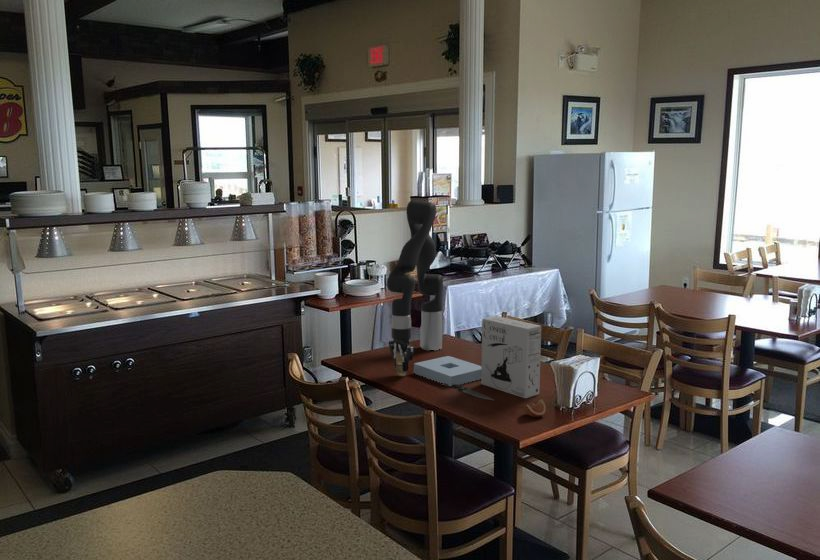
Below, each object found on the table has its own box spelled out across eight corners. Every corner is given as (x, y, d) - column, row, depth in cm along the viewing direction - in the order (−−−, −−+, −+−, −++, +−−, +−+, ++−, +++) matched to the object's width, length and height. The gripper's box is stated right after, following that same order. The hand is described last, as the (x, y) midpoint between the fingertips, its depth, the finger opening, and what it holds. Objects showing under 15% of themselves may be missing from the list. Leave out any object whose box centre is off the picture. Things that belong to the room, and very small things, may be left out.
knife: (488, 404, 237) (498, 401, 240) (488, 401, 237) (498, 398, 240) (439, 385, 258) (449, 382, 261) (439, 382, 258) (449, 380, 261)
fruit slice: (532, 422, 220) (533, 406, 219) (516, 416, 225) (517, 401, 224) (549, 416, 225) (550, 401, 224) (533, 410, 230) (534, 396, 229)
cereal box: (480, 384, 258) (481, 318, 254) (494, 380, 263) (496, 315, 259) (525, 399, 241) (527, 328, 238) (539, 394, 246) (541, 325, 242)
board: (413, 373, 272) (413, 363, 271) (448, 365, 283) (448, 355, 282) (451, 387, 255) (451, 376, 254) (486, 378, 266) (486, 367, 265)
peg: (394, 374, 268) (394, 352, 267) (402, 372, 271) (402, 350, 269) (400, 377, 265) (400, 354, 264) (409, 375, 268) (409, 352, 266)
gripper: (420, 327, 262) (420, 371, 264) (397, 321, 273) (398, 363, 276) (404, 330, 257) (405, 375, 260) (382, 324, 268) (382, 367, 271)
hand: (401, 369), depth 268 cm, fingers closed on peg, 4 cm apart
